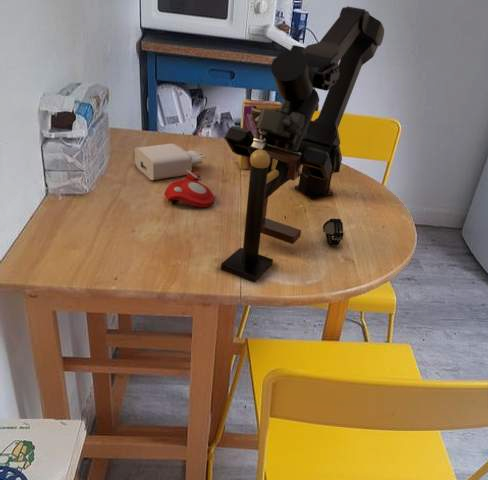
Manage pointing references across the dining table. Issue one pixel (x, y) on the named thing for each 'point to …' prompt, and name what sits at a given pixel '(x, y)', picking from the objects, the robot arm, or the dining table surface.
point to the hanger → (268, 225)
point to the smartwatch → (333, 231)
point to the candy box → (255, 124)
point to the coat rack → (253, 223)
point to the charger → (165, 161)
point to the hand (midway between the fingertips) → (258, 196)
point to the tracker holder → (190, 191)
